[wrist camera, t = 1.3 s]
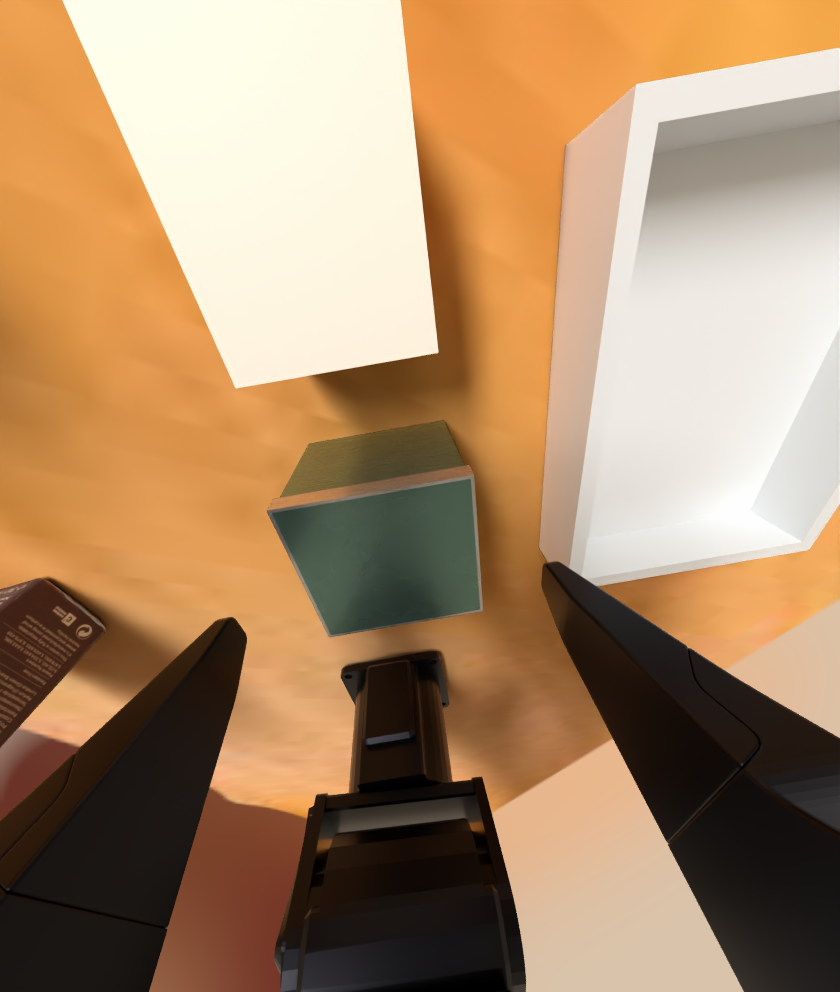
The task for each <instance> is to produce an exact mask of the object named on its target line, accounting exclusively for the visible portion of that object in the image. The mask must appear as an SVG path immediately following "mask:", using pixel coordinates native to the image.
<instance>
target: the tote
mask: <svg viewBox="0 0 840 992" xmlns="http://www.w3.org/2000/svg"><path fill="white" fill-rule="evenodd" d="M839 504H840V48H836V49H830V50H824V51H819V52H813V53H808V54H802V55H797V56H791V57H785V58H780V59H774V60H769V61H763V62H758V63H752V64H746V65H741V66H735V67H730V68H724V69H719V70H713V71H707V72H702V73H696V74H691V75H685V76H679V77H674V78H668V79H663V80H657V81H652V82H646V83H640V84H636V85H635V86H634V87H633V88H631V89H630V90H629V91H628V92H627V93H626V94H624V95H623V96H622V97H621V98H620V99H619V100H618V101H616V102H615V103H614V104H613V105H612V106H611V107H609V108H608V109H607V110H606V111H605V112H604V113H603V114H601V115H600V116H599V117H598V118H597V119H596V120H594V121H593V122H592V123H591V124H590V125H589V126H588V127H586V128H585V129H584V130H583V131H582V132H581V133H579V134H578V135H577V136H576V137H575V138H574V139H573V140H571V141H570V142H569V143H568V144H567V145H566V146H565V160H564V175H563V191H562V206H561V221H560V236H559V251H558V266H557V282H556V297H555V312H554V327H553V342H552V358H551V373H550V388H549V403H548V418H547V434H546V449H545V464H544V479H543V494H542V509H541V525H540V540H539V548H540V550H541V552H542V553H543V555H544V557H545V558H546V560H547V562H553V561H559V562H561V563H562V564H564V565H565V566H567V567H568V568H570V569H571V570H573V571H574V572H576V573H577V574H579V575H580V576H582V577H583V578H585V579H586V580H588V581H589V582H591V583H593V584H594V585H596V586H602V585H608V584H613V583H619V582H625V581H631V580H637V579H642V578H648V577H654V576H660V575H666V574H672V573H677V572H683V571H689V570H695V569H701V568H707V567H712V566H718V565H724V564H730V563H736V562H741V561H747V560H753V559H759V558H765V557H771V556H776V555H782V554H788V553H794V552H800V551H805V550H809V549H810V548H811V546H812V544H813V543H814V541H815V540H816V538H817V537H818V535H819V534H820V532H821V531H822V529H823V528H824V526H825V525H826V523H827V522H828V520H829V519H830V517H831V516H832V514H833V513H834V511H835V510H836V508H837V507H838V505H839Z"/></svg>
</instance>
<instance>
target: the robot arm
mask: <svg viewBox="0 0 840 992" xmlns="http://www.w3.org/2000/svg"><path fill="white" fill-rule="evenodd" d="M541 584H542V589H543V592H544V595H545V597H546V600H547V603H548V605H549V608H550V610H551V613H552V615H553V618H554V621H555V623H556V626H557V628H558V631H559V633H560V636H561V638H562V641H563V643H564V645H565V647H566V649H567V651H568V653H569V655H570V657H571V659H572V661H573V662H574V664H575V666H576V668H577V670H578V672H579V674H580V676H581V678H582V680H583V682H584V684H585V686H586V688H587V689H588V691H589V693H590V695H591V697H592V699H593V701H594V703H595V705H596V707H597V709H598V711H599V713H600V715H601V716H602V718H603V720H604V722H605V724H606V726H607V728H608V730H609V732H610V734H611V736H612V738H613V740H614V741H615V743H616V745H617V747H618V749H619V751H620V753H621V755H622V757H623V759H624V761H625V763H626V765H627V767H628V768H629V770H630V772H631V774H632V776H633V778H634V780H635V782H636V784H637V786H638V788H639V790H640V792H641V794H642V795H643V797H644V799H645V801H646V803H647V805H648V807H649V809H650V811H651V813H652V815H653V816H654V819H655V820H656V822H657V824H658V826H659V828H660V830H661V832H662V834H663V836H664V838H665V840H666V841H667V842H668V846H669V848H670V850H671V852H672V853H673V856H674V857H675V860H676V861H677V863H678V865H679V867H680V869H681V871H682V873H683V875H684V877H685V879H686V881H687V883H688V884H689V887H690V888H691V890H692V892H693V894H694V896H695V898H696V900H697V902H698V904H699V906H700V908H701V910H702V912H703V913H704V915H705V917H706V919H707V921H708V923H709V925H710V927H711V929H712V931H713V933H714V935H715V937H716V939H717V940H718V942H719V944H720V946H721V948H722V950H723V952H724V954H725V956H726V958H727V960H728V962H729V964H730V966H731V968H732V969H733V971H734V973H735V975H736V977H737V979H738V981H739V983H740V985H741V987H742V989H743V991H744V992H840V738H839V737H837V736H835V735H833V734H832V733H830V732H828V731H826V730H825V729H823V728H821V727H819V726H818V725H816V724H814V723H812V722H811V721H809V720H807V719H806V718H804V717H802V716H800V715H799V714H797V713H795V712H793V711H792V710H790V709H788V708H787V707H784V706H783V705H781V704H779V703H778V702H776V701H774V700H773V699H771V698H769V697H768V696H766V695H764V694H762V693H761V692H759V691H757V690H756V689H754V688H752V687H751V686H749V685H747V684H745V683H744V682H742V681H740V680H739V679H737V678H736V677H734V676H732V675H731V674H729V673H728V672H726V671H725V670H723V669H722V668H720V667H718V666H717V665H715V664H714V663H712V662H711V661H709V660H708V659H706V658H705V657H703V656H701V655H700V654H698V653H697V652H695V651H694V650H692V649H691V648H687V646H686V645H685V644H683V643H682V642H680V641H679V640H677V639H676V638H674V637H673V636H671V635H670V634H668V633H667V632H665V631H664V630H662V629H660V628H659V627H657V626H656V625H654V624H653V623H651V622H650V621H648V620H647V619H645V618H644V617H642V616H641V615H639V614H638V613H636V612H635V611H633V610H632V609H630V608H629V607H627V606H626V605H624V604H623V603H621V602H620V601H618V600H617V599H615V598H614V597H612V596H611V595H609V594H608V593H606V592H605V591H603V590H602V589H600V588H599V587H597V586H596V585H594V584H593V583H591V582H589V581H588V580H586V579H585V578H583V577H582V576H580V575H579V574H577V573H576V572H574V571H573V570H571V569H570V568H568V567H567V566H565V565H564V564H562V563H561V562H559V561H553V562H547V563H544V564H543V568H542V582H541ZM246 644H247V636H246V633H245V632H244V630H243V629H242V627H241V626H240V625H239V623H238V622H237V620H236V619H235V618H233V617H228V618H222V619H219V620H217V621H215V622H214V623H213V624H212V625H211V626H210V627H209V628H208V629H207V630H205V631H204V632H203V633H202V634H201V635H200V636H199V637H198V638H197V639H196V640H195V641H194V642H193V643H192V644H190V645H189V646H188V647H187V648H186V649H185V650H184V651H183V652H182V653H181V654H180V655H179V656H178V657H177V658H176V659H174V660H173V661H172V662H171V663H170V664H169V665H168V666H167V667H166V668H165V669H164V670H163V671H162V672H161V673H159V674H158V675H157V676H156V677H155V678H154V679H153V680H152V681H151V682H150V683H149V684H148V685H147V686H146V687H144V688H143V689H142V690H141V691H140V692H139V693H138V694H137V695H136V696H135V697H134V698H133V699H132V700H131V701H129V702H128V703H127V704H126V705H125V706H124V707H123V708H122V709H121V710H120V711H119V712H118V713H117V714H116V715H114V716H113V717H112V718H111V719H110V720H109V721H108V722H107V723H106V724H105V725H104V726H103V727H102V728H101V729H100V730H98V731H97V732H96V733H95V734H94V735H93V736H92V737H91V738H90V739H89V740H88V741H87V742H86V743H85V744H83V745H82V746H81V747H80V748H79V749H78V750H77V752H76V753H75V754H73V755H72V756H70V757H69V758H68V759H67V760H66V761H65V762H64V763H63V764H62V765H61V766H60V767H59V768H58V769H57V770H56V771H55V772H53V773H52V774H51V775H50V776H49V777H48V778H47V779H46V780H45V781H44V782H43V783H41V784H40V785H39V786H38V787H37V788H36V789H35V790H34V791H33V792H32V793H31V794H30V795H28V796H27V797H26V798H25V799H24V800H23V801H22V802H20V803H19V804H18V805H17V806H16V807H15V808H14V809H13V810H11V811H10V812H9V813H8V814H7V815H6V816H5V817H4V818H2V819H1V820H0V992H149V990H150V986H151V983H152V979H153V976H154V973H155V969H156V966H157V963H158V959H159V956H160V952H161V949H162V946H163V942H164V939H165V936H166V932H167V927H168V925H169V921H170V918H171V915H172V911H173V908H174V905H175V901H176V898H177V894H178V891H179V887H180V884H181V881H182V877H183V874H184V871H185V867H186V864H187V861H188V857H189V854H190V851H191V847H192V844H193V840H194V837H195V834H196V830H197V827H198V823H199V820H200V817H201V813H202V810H203V807H204V803H205V800H206V797H207V793H208V790H209V787H210V783H211V780H212V777H213V773H214V770H215V767H216V763H217V760H218V756H219V753H220V750H221V746H222V743H223V740H224V736H225V733H226V730H227V726H228V723H229V719H230V716H231V713H232V709H233V706H234V702H235V698H236V694H237V690H238V685H239V680H240V675H241V670H242V665H243V659H244V654H245V649H246ZM341 679H342V681H343V683H344V685H345V687H346V689H347V690H348V692H349V694H350V696H351V698H352V700H353V702H354V704H355V706H356V707H355V719H354V732H353V745H352V757H351V770H350V783H349V793H347V794H338V795H329V796H328V794H327V793H326V794H317V795H316V799H315V803H314V806H313V807H311V808H309V811H308V817H307V824H306V830H305V837H304V842H303V847H302V852H301V856H300V861H299V865H298V869H297V872H296V876H295V879H294V883H293V886H292V889H291V893H290V896H289V900H288V903H287V907H286V910H285V914H284V917H283V921H282V924H281V928H280V931H279V935H278V938H277V942H276V947H275V955H274V960H275V963H276V966H277V968H278V970H279V972H280V974H281V992H526V974H525V963H524V955H523V948H522V941H521V934H520V929H519V923H518V918H517V913H516V908H515V903H514V898H513V894H512V890H511V886H510V882H509V878H508V874H507V871H506V867H505V863H504V859H503V855H502V851H501V847H500V844H499V840H498V836H497V832H496V828H495V824H494V821H493V817H492V813H491V809H490V805H489V801H488V798H487V794H486V790H485V786H484V782H483V779H482V777H474V778H472V779H471V780H467V781H458V782H453V781H452V773H451V766H450V759H449V751H448V744H447V736H446V729H445V722H444V714H443V708H444V707H447V706H448V705H449V699H448V693H447V688H446V683H445V678H444V673H443V669H442V664H441V659H440V655H439V653H437V652H428V653H422V654H416V655H410V656H405V657H399V658H393V659H387V660H381V661H375V662H370V663H364V664H358V665H352V666H347V667H344V668H342V670H341Z"/></svg>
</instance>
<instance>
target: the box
mask: <svg viewBox="0 0 840 992" xmlns="http://www.w3.org/2000/svg"><path fill="white" fill-rule="evenodd" d="M105 631H106V627H105V626H104V625H103V624H102V623H101V621H100V619H99V618H98V617H96V616H95V615H93V614H92V613H91V612H89V611H88V610H87V609H86V608H85V607H84V606H83V605H82V604H80V603H79V602H77V601H75V600H74V599H73V598H72V597H70V596H69V595H68V594H65V593H64V592H63V591H61V590H60V589H59V588H58V587H56V586H54V585H53V584H52V583H51V582H49V581H47V580H45V579H43V578H38V579H35V580H32V581H28V582H25V583H21V584H18V585H14V586H11V587H7V588H4V589H0V748H1V746H2V745H3V744H4V743H5V742H6V741H7V739H8V738H9V737H10V736H11V735H12V734H13V733H14V732H15V731H16V730H17V729H18V728H19V727H20V725H21V724H22V723H23V722H24V721H25V720H26V719H27V718H28V717H29V715H30V714H31V713H32V712H33V711H34V710H35V709H36V708H37V707H38V705H39V704H40V703H41V702H42V701H43V700H44V699H45V698H46V697H47V695H48V694H49V693H50V692H51V691H52V690H53V689H54V688H55V687H56V686H57V684H58V683H59V682H60V681H61V680H62V679H63V678H64V677H65V676H66V674H67V673H68V672H69V671H70V670H71V669H72V668H73V667H74V666H75V664H76V663H77V662H78V661H79V660H80V659H81V658H82V657H83V655H84V654H85V653H86V652H87V651H88V650H89V649H90V648H91V646H92V645H93V644H94V643H95V642H96V641H97V640H98V639H99V638H100V637H101V635H102V634H103V633H104V632H105Z"/></svg>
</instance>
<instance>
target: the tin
mask: <svg viewBox="0 0 840 992" xmlns="http://www.w3.org/2000/svg"><path fill="white" fill-rule="evenodd" d="M266 511H267V513H268V515H269V517H270V519H271V521H272V523H273V525H274V527H275V529H276V531H277V533H278V535H279V537H280V539H281V541H282V543H283V545H284V547H285V549H286V551H287V553H288V555H289V557H290V559H291V561H292V563H293V565H294V568H295V570H296V572H297V574H298V576H299V578H300V580H301V582H302V584H303V586H304V588H305V590H306V592H307V594H308V596H309V598H310V600H311V602H312V604H313V606H314V608H315V610H316V612H317V614H318V616H319V618H320V620H321V622H322V624H323V626H324V628H325V630H326V632H327V634H328V636H329V637H334V636H340V635H345V634H351V633H357V632H363V631H369V630H375V629H381V628H386V627H392V626H398V625H404V624H410V623H416V622H422V621H427V620H433V619H439V618H445V617H451V616H457V615H463V614H469V613H474V612H480V611H483V602H482V586H481V571H480V556H479V540H478V525H477V510H476V495H475V479H474V473H473V471H472V469H471V467H470V465H467V466H465V465H464V463H463V461H462V459H461V456H460V454H459V452H458V450H457V448H456V446H455V443H454V441H453V439H452V437H451V435H450V433H449V430H448V428H447V426H446V424H445V422H444V420H442V421H436V422H430V423H425V424H419V425H413V426H407V427H402V428H396V429H390V430H384V431H379V432H373V433H367V434H361V435H356V436H350V437H344V438H338V439H333V440H327V441H321V442H315V443H310V444H309V445H308V447H307V448H306V450H305V452H304V454H303V456H302V458H301V460H300V461H299V463H298V465H297V467H296V469H295V471H294V472H293V474H292V476H291V478H290V480H289V482H288V483H287V485H286V487H285V489H284V491H283V493H282V495H281V496H280V498H276V499H273V500H272V502H271V503H270V505H269V507H268V509H267V510H266Z"/></svg>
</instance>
